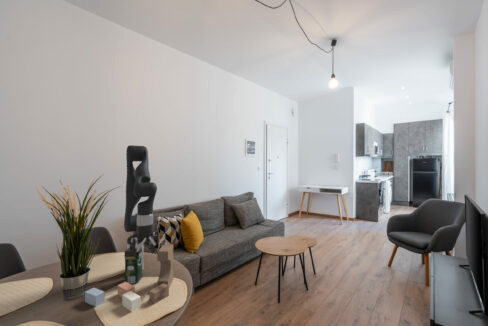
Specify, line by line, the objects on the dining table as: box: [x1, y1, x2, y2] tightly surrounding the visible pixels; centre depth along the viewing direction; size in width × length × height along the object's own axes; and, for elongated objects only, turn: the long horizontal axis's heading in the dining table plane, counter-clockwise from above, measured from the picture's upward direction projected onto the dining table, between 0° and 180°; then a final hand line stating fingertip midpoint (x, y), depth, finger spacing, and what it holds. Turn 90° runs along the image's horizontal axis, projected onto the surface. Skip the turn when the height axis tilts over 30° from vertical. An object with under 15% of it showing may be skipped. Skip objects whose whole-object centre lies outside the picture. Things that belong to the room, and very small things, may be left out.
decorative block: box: [156, 243, 174, 288], centre depth 122 cm, size 11×6×20 cm, turn 2°
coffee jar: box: [124, 245, 143, 285], centre depth 126 cm, size 10×8×19 cm
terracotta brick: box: [117, 281, 136, 298], centre depth 112 cm, size 8×4×5 cm, turn 57°
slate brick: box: [84, 287, 106, 307], centre depth 107 cm, size 8×4×5 cm, turn 66°
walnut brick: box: [148, 283, 170, 305], centre depth 110 cm, size 8×4×5 cm, turn 148°
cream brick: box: [121, 291, 142, 313], centre depth 104 cm, size 8×4×5 cm, turn 56°
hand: (144, 255), depth 113 cm, fingers open, 8 cm apart
